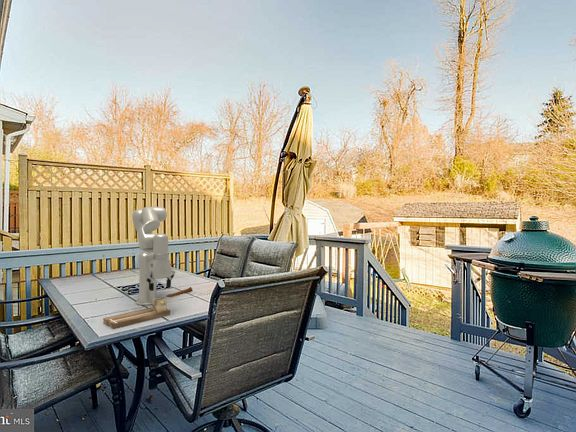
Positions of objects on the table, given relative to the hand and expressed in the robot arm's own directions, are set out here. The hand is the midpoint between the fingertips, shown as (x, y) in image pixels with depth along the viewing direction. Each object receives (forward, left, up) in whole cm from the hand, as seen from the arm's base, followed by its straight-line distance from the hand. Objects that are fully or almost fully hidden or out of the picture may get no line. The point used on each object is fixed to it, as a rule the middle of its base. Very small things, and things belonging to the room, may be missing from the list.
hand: (160, 288), depth 170 cm
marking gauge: (-1, 0, -12) cm, 12 cm away
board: (-3, -10, -14) cm, 18 cm away
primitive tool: (-31, +32, -15) cm, 47 cm away
